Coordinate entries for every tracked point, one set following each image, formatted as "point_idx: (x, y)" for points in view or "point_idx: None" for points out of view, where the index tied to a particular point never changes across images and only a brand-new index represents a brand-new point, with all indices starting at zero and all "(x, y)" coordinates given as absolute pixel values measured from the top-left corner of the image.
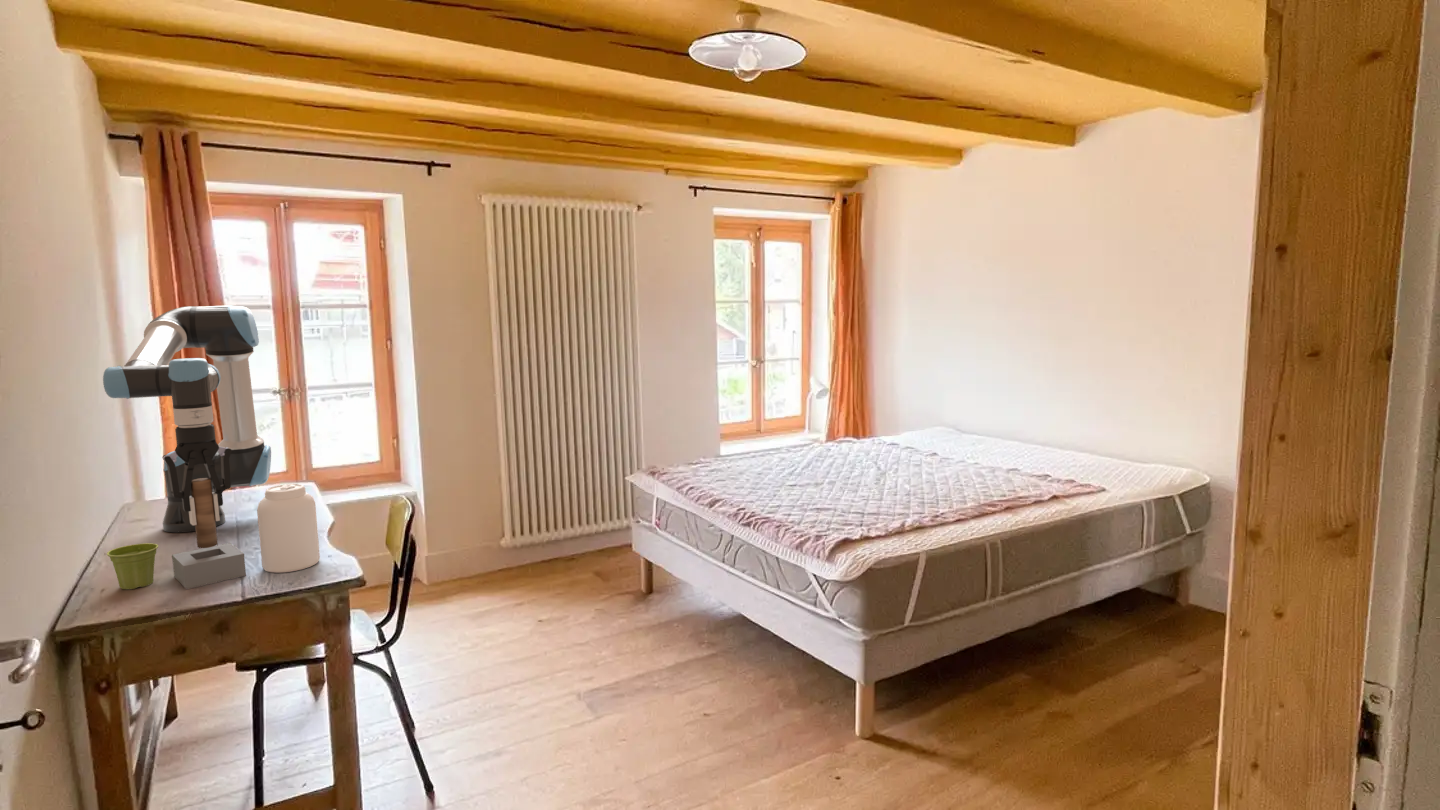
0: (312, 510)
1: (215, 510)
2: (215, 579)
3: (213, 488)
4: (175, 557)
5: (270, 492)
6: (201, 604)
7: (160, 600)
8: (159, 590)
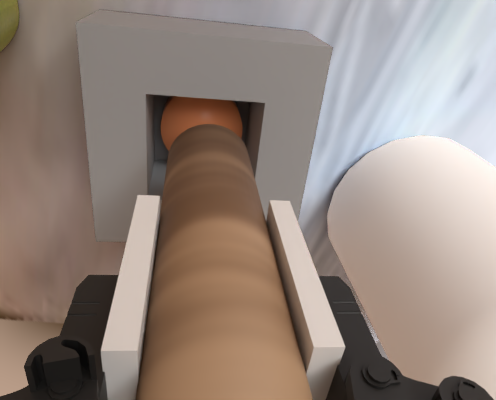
0: None
1: None
2: None
3: (350, 396)
4: (84, 94)
5: None
6: None
7: (37, 234)
8: (38, 139)
